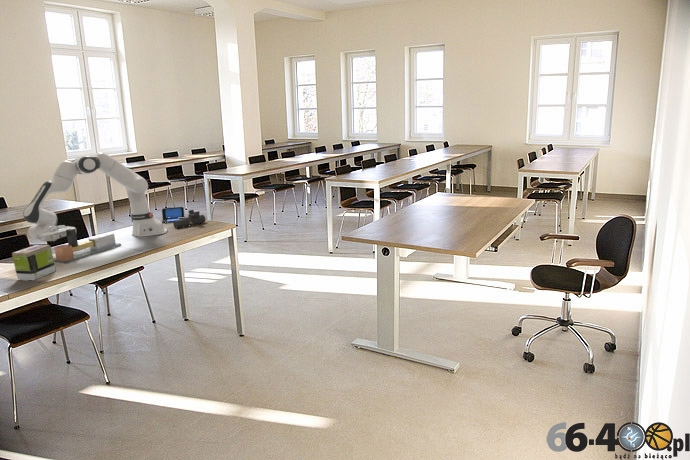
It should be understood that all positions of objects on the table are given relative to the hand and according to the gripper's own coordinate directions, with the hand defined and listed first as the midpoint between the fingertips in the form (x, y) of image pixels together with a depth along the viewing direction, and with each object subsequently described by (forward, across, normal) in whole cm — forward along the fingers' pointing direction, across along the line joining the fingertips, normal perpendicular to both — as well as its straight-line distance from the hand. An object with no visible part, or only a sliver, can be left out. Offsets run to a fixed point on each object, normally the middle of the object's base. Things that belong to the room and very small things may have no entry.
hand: (67, 234), depth 300 cm
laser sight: (+16, +84, +13) cm, 86 cm away
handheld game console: (-8, +93, +13) cm, 94 cm away
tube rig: (+3, +9, +13) cm, 16 cm away
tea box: (+14, -31, +14) cm, 37 cm away
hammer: (+3, +5, +10) cm, 11 cm away
